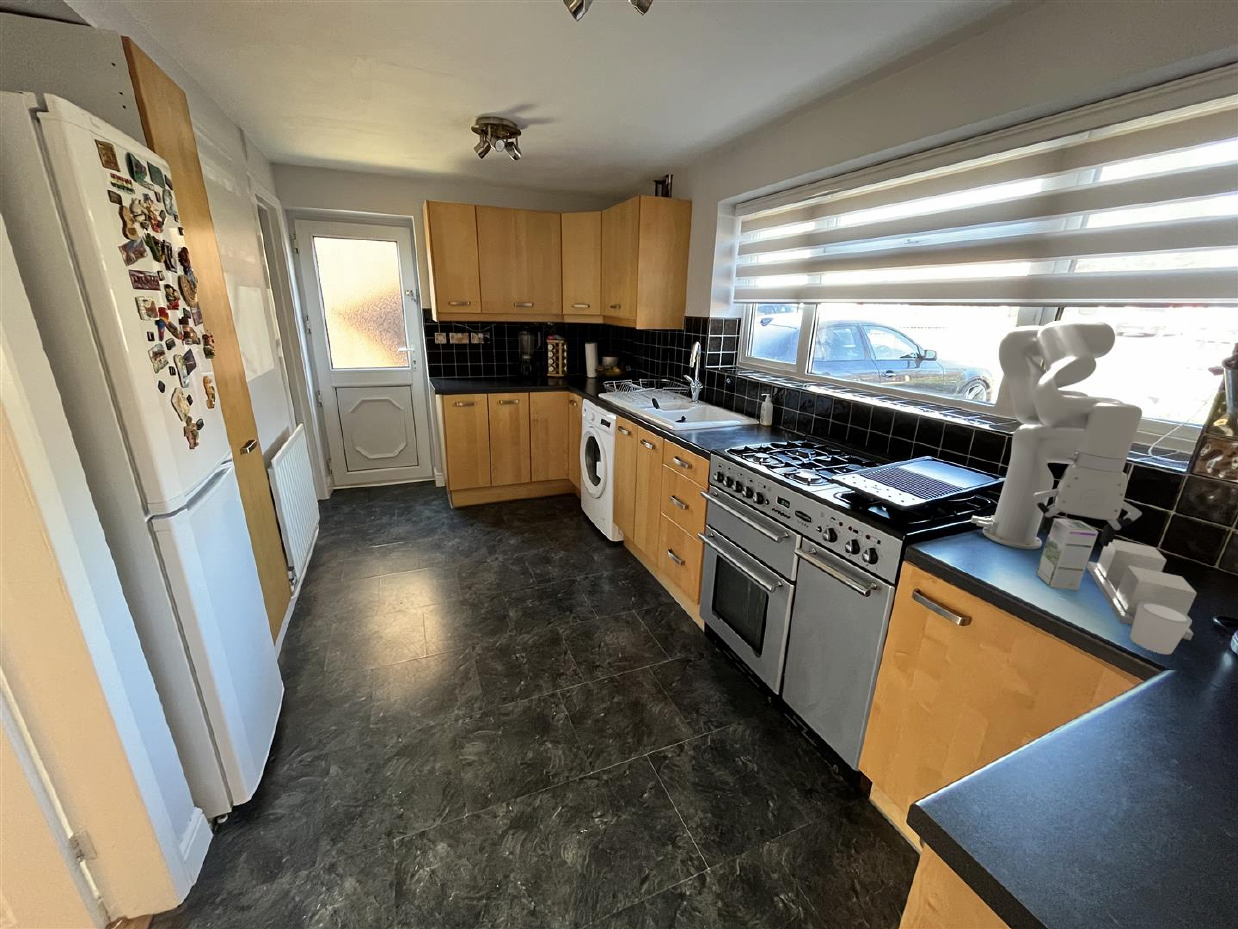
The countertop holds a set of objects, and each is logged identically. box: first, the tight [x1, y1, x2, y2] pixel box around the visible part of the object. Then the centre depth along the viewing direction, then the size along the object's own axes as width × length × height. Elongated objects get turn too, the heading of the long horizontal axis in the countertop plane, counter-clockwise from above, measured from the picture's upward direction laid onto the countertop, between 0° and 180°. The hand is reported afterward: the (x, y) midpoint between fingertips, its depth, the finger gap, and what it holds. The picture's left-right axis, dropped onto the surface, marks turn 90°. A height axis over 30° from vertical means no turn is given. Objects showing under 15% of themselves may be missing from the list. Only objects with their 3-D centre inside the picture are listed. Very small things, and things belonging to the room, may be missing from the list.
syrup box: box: [1035, 517, 1099, 591], centre depth 110 cm, size 6×6×14 cm
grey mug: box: [1129, 602, 1193, 655], centre depth 91 cm, size 7×7×7 cm
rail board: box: [1086, 538, 1197, 641], centre depth 106 cm, size 10×26×9 cm, turn 149°
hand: (1073, 538), depth 108 cm, fingers open, 9 cm apart
